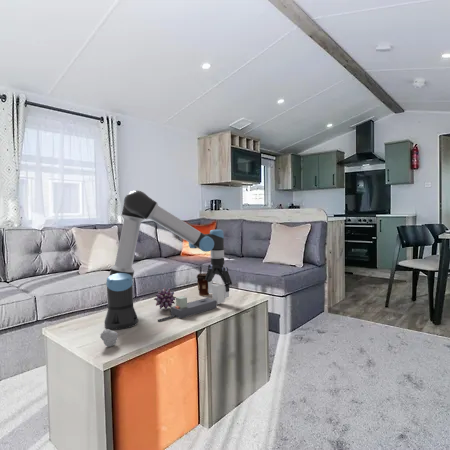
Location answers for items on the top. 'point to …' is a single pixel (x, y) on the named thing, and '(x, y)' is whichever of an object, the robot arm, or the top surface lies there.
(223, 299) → the white rectangular block
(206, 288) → the coffee cup
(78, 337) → the top surface
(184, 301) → the block
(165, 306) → the flower
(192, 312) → the power strip
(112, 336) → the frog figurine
